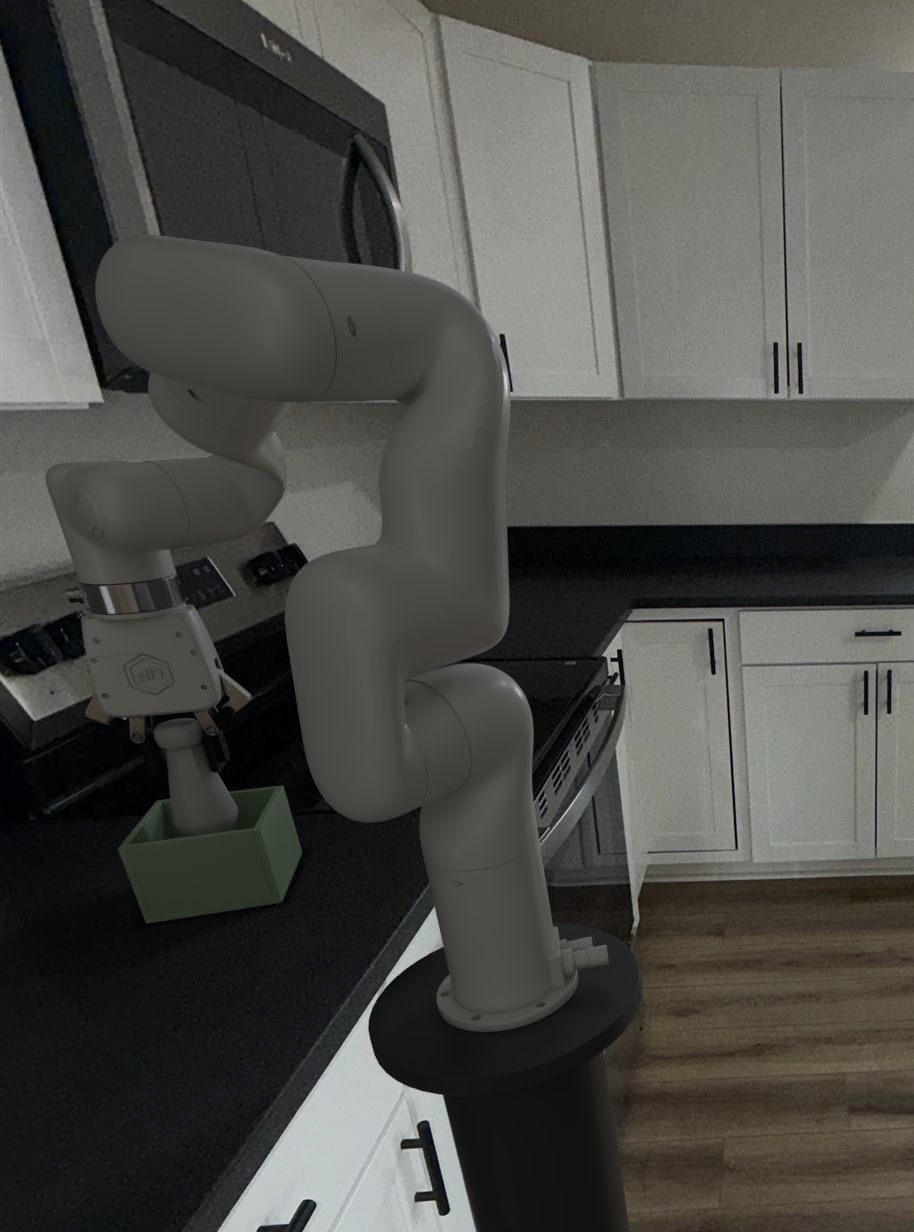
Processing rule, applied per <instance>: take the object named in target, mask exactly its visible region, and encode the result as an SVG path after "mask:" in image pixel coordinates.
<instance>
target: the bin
mask: <svg viewBox="0 0 914 1232" xmlns="http://www.w3.org/2000/svg"><path fill="white" fill-rule="evenodd" d="M228 792H229V793H230V795H231V797H232V799H233V800H234V802H235V804H236V806H237V808H238V815H237V821H236V827H235V831H228V832H220V833H212V834H205V835H197V836H190V837H185V836H184V835H183V834H182V833H181V832H180V831H179V830H178V829H177V828H176V827H175V825H174V824H173V819H172V809H171V799H170V798H166V799H158V800H155V802H154V803H153V805H152V806H151V807H150V808H149V809H148V811H147V812H146V813H145V814H144V816H143V817H142V818H141V819H140V821H138V823H137V824H136V826H135V827H134V828H133V829H132V831H131V832H130V833H129V834H128V835H127V836H126V838H125V839H124V840H123V841H122V843H121V844H120V845H119V846H118V848H117V850H118V853H119V856H120V858H121V861H122V864H123V866H124V869H125V872H126V874H127V878H128V879H129V882H130V885H131V888H132V890H133V893H134V896H135V898H136V901H137V904H138V906H139V909H140V911H141V914H142V917H143V919H144V922H145V924H148V925H149V924H153V923H154V924H155V923H160V922H166V921H167V922H168V921H172V920H173V921H174V920H180V919H185V918H186V919H187V918H192V917H198V916H205V915H211V914H218V913H219V914H220V913H225V912H231V911H237V910H245V909H251V908H257V907H263V906H270V905H275V904H281V903H283V901H284V898H285V896H286V894H287V891H288V889H289V886H290V884H291V882H292V880H293V876H294V874H295V872H296V869H297V867H298V865H299V861H300V860H301V857H302V855H303V849H302V847H301V843H300V839H299V836H298V832H297V828H296V825H295V822H294V819H293V815H292V811H291V808H290V804H289V800H288V797H287V794H286V790H285V786H284V785H275V786H265V787H259V788H258V787H257V788H250V789H241V790H234V791H228Z"/></svg>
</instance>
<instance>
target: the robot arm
mask: <svg viewBox="0 0 914 1232" xmlns="http://www.w3.org/2000/svg"><path fill="white" fill-rule="evenodd" d="M94 284H95V287H94V289H95V291H94V294H95V295H94V296H95V303H96V307H97V308H96V309H97V312H98V314H99V317H100V321H101V323H102V324H101V325H102V326H103V328H104V330H105V332H106V334H107V336H108V337H109V339H110V341H112V343H113V344H114V345H115V347H116V348H117V349H118V350H119V352H120V353H122V354H123V356H125V358H127V359H128V360H129V361H130V362H132V363H134V364H135V365H136V366H138V367H139V368H141V369H143V370H146V371H148V372H149V377H148V381H147V391H148V396H149V399H150V402H151V405H152V407H153V408H154V409H155V412H156V413H157V415H158V416H159V417H160V419H161V420H162V421H163V423H164V424H165V425H166V426H167V427H168V428H169V429H170V430H172V431H173V432H174V433H175V434H176V435H178V436H179V437H180V438H181V439H183V440H184V441H186V442H187V443H188V444H191V445H192V446H194V447H196V448H197V449H199V450H201V451H204V452H206V453H208V454H210V456H207V457H191V458H189V457H188V458H187V457H186V458H170V459H155V460H144V461H136V462H135V461H134V462H129V461H123V460H82V461H81V460H80V461H68V462H62V463H56V464H54V465H52V466H50V467H49V468H48V469H47V471H46V472H45V477H44V479H45V484H46V488H47V491H48V494H49V497H50V500H51V503H52V506H53V509H54V511H55V514H56V517H57V520H58V523H59V526H60V529H61V532H62V535H63V538H64V540H65V543H66V546H67V549H68V552H69V555H70V558H71V560H72V564H73V566H74V569H75V572H76V574H77V578H78V581H79V582H77V586H75V587H71V588H68V587H67V588H66V589H65V596H66V599H67V600H68V602H69V603H71V604H72V603H79V604H83V605H84V607H85V609H86V611H89V612H90V613H87V614H85V615H83V616H81V617H80V621H81V622H80V623H81V632H82V640H83V646H84V651H85V656H86V661H87V666H88V670H89V674H90V678H91V682H92V686H93V689H94V690H93V691H94V693H93V695H92V697H91V699H90V700H89V702H88V704H87V707H86V709H85V711H84V715H85V717H86V718H88V719H90V720H92V721H95V722H98V723H100V724H102V725H105V726H107V725H108V726H110V727H111V728H112V729H113V730H115V731H117V732H119V733H121V734H123V735H125V736H127V738H129V739H130V740H131V742H132V743H134V744H138V747H139V750H140V752H141V755H142V758H143V761H144V764H145V767H146V768H147V770H152V773H153V776H154V778H155V780H162V779H163V778H165V777H166V776H168V768H167V758H166V748H161V747H159V746H158V745H157V744H156V741H155V739H154V733H153V731H154V729H155V728H154V716H161V715H175V714H182V713H193V715H194V716H195V718H196V720H198V721H199V723H200V724H201V726H202V728H203V729H204V730H203V732H204V736H203V737H202V738H201V741H202V742H201V745H202V747H203V748H204V750H205V754H206V757H207V760H208V763H209V766H210V769H211V771H212V772H214V773H216V772H217V773H221V771H222V770H223V769H224V768H225V766H226V764H227V762H228V761H229V760H230V757H231V756H230V751H229V748H228V744H227V742H226V738H225V735H224V732H223V728H224V727H225V726H226V724H227V723H228V722H229V720H230V719H231V718H232V717H233V716H234V715H235V714H237V713H239V711H240V710H241V709H243V708H244V707H246V706H247V705H248V704H249V703H250V701H251V700H252V698H253V696H252V694H251V693H250V692H249V691H248V690H247V689H245V688H244V687H243V686H241V684H240V683H238V682H236V681H235V680H234V679H233V678H232V677H230V676H229V675H228V674H227V673H225V671H224V667H223V665H222V662H221V659H220V657H219V654H218V652H217V649H216V647H215V644H214V642H213V640H212V638H211V636H210V633H209V631H208V629H207V627H206V625H205V623H204V621H203V619H202V617H201V616H200V614H199V612H198V610H197V609H196V607H195V605H194V604H188V603H187V602H186V599H185V596H184V593H183V590H182V587H181V583H180V580H179V577H178V574H177V571H176V567H175V563H174V560H173V558H172V554H171V550H175V549H178V548H183V547H192V546H199V545H205V544H212V543H221V542H228V541H235V540H239V539H242V538H245V537H247V536H249V535H251V534H253V533H254V532H256V531H257V530H258V529H260V528H261V527H262V526H263V524H264V523H266V521H267V520H268V519H269V518H270V516H271V515H272V514H273V512H274V511H275V510H276V508H277V507H278V505H279V504H280V503H281V501H282V499H283V498H284V497H285V496H284V495H285V493H286V491H287V490H286V489H287V485H288V467H287V460H286V455H285V451H284V447H283V445H282V442H281V440H280V438H279V437H278V435H277V433H276V430H277V428H278V426H279V425H280V424H281V422H282V420H283V419H284V417H285V415H286V414H287V412H288V411H289V410H290V408H291V407H292V405H293V404H294V403H325V402H326V403H327V402H328V403H329V402H330V403H331V402H373V401H396V402H398V403H400V404H401V405H402V407H403V412H402V414H401V415H400V417H399V419H398V420H397V422H396V423H395V425H394V427H393V428H392V431H391V432H390V434H389V436H388V438H387V441H386V444H385V446H384V449H383V453H382V455H381V459H380V464H379V468H378V470H379V471H378V478H377V479H378V480H377V481H378V492H379V501H380V506H381V507H380V508H381V510H380V511H381V531H380V536H379V539H378V540H377V541H376V542H375V543H374V544H368V545H363V546H357V547H351V548H346V549H340V550H335V551H331V552H328V553H324V554H323V555H319V556H317V557H315V558H313V559H311V560H310V561H309V562H307V563H306V564H304V565H303V566H302V568H301V569H299V570H298V571H297V573H296V574H295V576H294V577H293V579H292V581H291V583H290V586H289V588H288V592H287V595H286V599H285V606H284V624H285V633H286V634H285V635H286V643H287V649H288V656H289V662H290V667H291V675H292V681H293V687H294V694H295V698H296V706H297V707H296V708H297V713H298V719H299V726H300V733H301V738H302V742H303V744H302V745H303V749H304V753H305V758H306V762H307V766H308V769H309V772H310V774H311V777H312V780H313V782H314V784H315V786H316V788H317V790H318V791H319V793H320V794H321V796H322V797H323V799H324V800H325V802H326V803H327V804H328V805H329V806H330V807H331V808H332V809H333V810H334V811H335V812H337V813H338V814H339V815H341V816H343V817H344V818H347V819H349V820H351V821H355V822H359V823H364V824H365V823H367V824H369V823H370V824H371V823H372V824H373V823H381V822H385V821H389V820H393V819H395V818H397V817H400V816H404V815H405V814H408V813H410V812H412V811H414V810H417V809H418V808H420V813H419V826H418V828H419V829H418V830H419V841H420V846H421V852H422V856H423V861H424V866H425V870H426V875H427V880H428V884H429V888H430V892H431V893H430V894H431V896H432V902H433V906H434V910H435V915H436V919H437V923H438V929H439V933H440V937H441V941H442V947H444V951H445V956H446V960H447V965H448V969H449V975H448V976H447V977H446V978H445V979H444V981H443V982H442V984H441V985H440V987H439V989H438V992H437V994H436V1002H437V1006H438V1010H439V1013H440V1015H441V1016H442V1018H443V1019H444V1020H445V1021H446V1022H448V1023H449V1024H450V1025H453V1026H455V1027H457V1028H459V1029H464V1030H468V1031H474V1032H498V1031H505V1030H511V1029H515V1028H519V1027H523V1026H526V1025H529V1024H531V1023H534V1022H536V1021H539V1020H541V1019H543V1018H545V1017H547V1016H549V1015H550V1014H552V1013H553V1012H555V1011H556V1010H558V1009H559V1008H560V1007H562V1006H563V1005H564V1004H565V1003H566V1002H567V1001H568V1000H569V999H570V998H571V996H572V995H573V994H574V992H575V990H576V988H577V986H578V971H577V970H578V969H583V968H588V967H590V968H592V967H597V966H603V965H608V964H609V959H608V952H607V946H606V945H601V946H596V947H593V943H592V937H586V938H580V939H578V940H573V941H568V942H567V941H566V939H563V940H560V939H559V933H558V927H553V923H554V922H553V916H552V911H551V904H550V899H549V898H550V897H549V893H548V886H547V881H546V873H545V868H544V861H543V857H542V850H541V845H540V844H541V843H540V836H539V830H538V824H537V818H536V811H535V802H534V793H533V753H534V722H533V721H534V720H533V714H532V710H531V707H530V704H529V701H528V699H527V696H526V694H525V692H524V691H523V689H522V688H521V686H519V685H520V684H518V683H517V682H516V680H515V679H513V678H512V677H511V676H510V675H509V674H507V673H506V672H505V671H502V669H499V668H497V667H494V666H491V665H487V664H483V663H473V662H468V663H458V664H455V663H457V662H460V661H464V660H466V659H468V658H472V657H474V656H477V655H480V654H482V653H485V652H487V651H489V650H490V649H492V648H493V647H495V646H497V645H498V644H499V643H500V641H502V639H503V638H504V636H505V634H506V633H507V628H508V625H509V621H510V620H509V619H510V573H509V572H510V571H509V547H508V546H509V545H508V544H509V543H508V519H507V518H508V516H507V515H508V514H507V502H506V468H507V467H506V466H507V465H506V464H507V452H508V443H509V435H510V422H511V382H510V376H509V375H510V374H509V370H508V366H507V361H506V357H505V355H504V351H503V349H502V346H501V344H500V341H499V340H498V337H497V336H496V334H495V333H496V332H494V329H493V328H492V326H491V324H490V323H489V322H488V320H487V319H486V318H485V316H484V315H483V313H482V312H481V311H480V310H479V309H478V307H476V306H475V304H474V303H473V302H471V301H470V300H469V298H467V297H466V296H465V295H463V294H462V293H461V292H459V291H458V290H456V289H455V288H453V287H451V286H449V285H448V284H446V283H444V282H442V281H439V280H437V279H434V278H431V277H428V276H425V275H422V274H418V273H414V272H410V271H406V270H403V269H401V270H400V269H396V268H390V267H384V266H377V265H376V266H375V265H370V264H369V265H368V264H361V263H350V262H341V261H340V262H339V261H328V260H321V259H313V258H304V257H297V256H289V255H280V254H278V253H275V252H273V251H269V250H266V249H262V248H257V247H253V246H246V245H239V244H234V243H233V244H232V243H226V242H225V243H223V242H218V241H217V242H216V241H215V242H214V241H209V240H206V241H205V240H198V239H190V238H182V237H176V236H175V237H174V236H168V235H160V234H159V235H158V234H147V233H139V234H138V233H137V234H133V235H129V236H126V237H123V238H121V239H119V240H118V241H116V242H114V244H113V245H112V246H110V247H109V248H108V250H107V251H106V252H105V254H104V255H103V256H102V258H101V260H100V263H99V265H98V268H97V272H96V276H95V282H94ZM225 695H226V696H227V697H228V698H229V700H228V701H227V702H225V703H224V704H223V705H222V706H221V708H219V709H218V707H217V705H218V704H219V703H220V701H221V700H222V697H224V696H225Z"/></svg>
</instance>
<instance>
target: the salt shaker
mask: <svg viewBox="0 0 914 1232" xmlns="http://www.w3.org/2000/svg"><path fill="white" fill-rule="evenodd" d="M153 729H154V731H153V733H154V739H155V741H156V744H157V745H158V746H159V747H161V748H166V758H167V768H168V774H167V777H168V788H169V799H171V809H172V819H173V824H174V825H175V827H176V828H177V829H178V830H179V831H180V832H181V833H182V834H183V835H184V836H185V837H190V836H197V835H205V834H212V833H220V832H228V831H235V827H236V821H237V815H238V808H237V806H236V804H235V802H234V800H233V799H232V797H231V795H230V793H229V792H230V791H229V790H228V789H227V787H226V785H225V783H224V782H223V780H222V778H221V777H220V774H219V772H216V773H214V772H212V771H211V769H210V766H209V763H208V760H207V757H206V754H205V750H204V747H203V744H202V741H201V738H202V737H203V736H204V732H203V730H204V729H203V728H202V726H201V724H200V723H199V721H198V720H197V718H196V719H195V718H191V717H190V718H189V717H184V718H183V717H182V718H181V717H180V718H175V719H170V720H166V721H163V722H161V723H159V724H157V725H156V726H155V727H154V728H153Z"/></svg>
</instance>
